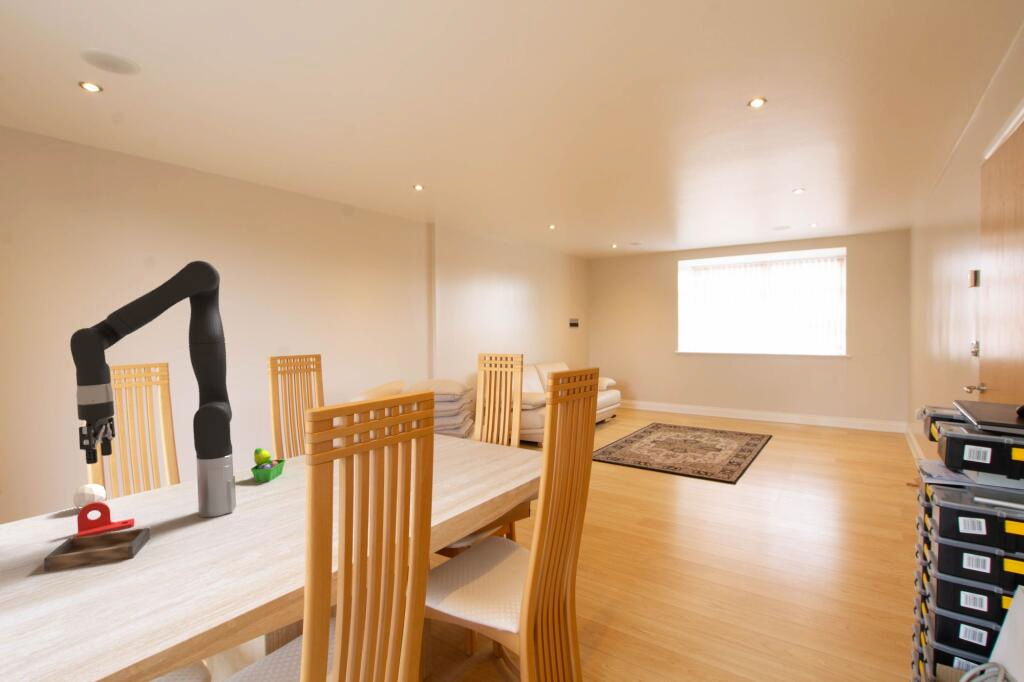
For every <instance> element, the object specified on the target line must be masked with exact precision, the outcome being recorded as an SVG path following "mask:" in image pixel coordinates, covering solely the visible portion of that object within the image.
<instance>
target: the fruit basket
mask: <svg viewBox="0 0 1024 682" xmlns="http://www.w3.org/2000/svg"><path fill="white" fill-rule="evenodd" d="M271 455H272V454H271V453H270V452H269V451H267V450H265V449H263V448H262V447H256V448H255V450H254V452H253V456H254V457H253V461H254V463H255V466H253V467H251V468H250V471H251V473H252V475H253V477H254V481H255V482H262V483H265V482H269V483H270V482H271V481H273V480H275V479H276V478H278V476H280V475H282V474H283V473H282V472H283V470H284V465H285V463H286V459H271V458H272V456H271Z"/></svg>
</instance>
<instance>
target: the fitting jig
mask: <svg viewBox="0 0 1024 682" xmlns="http://www.w3.org/2000/svg"><path fill="white" fill-rule="evenodd" d="M150 539H151V534H150V527H145V528H138V529H137V528H136V529H130V530H129V529H128V530H124V531H123V530H122V531H121V530H120V531H113V532H108V533H103V534H99V535H91V536H84V537H77V536H76V537H69V538H68V539H66V540H65V541H64V542H63V543H62V544H60V545H59V546H58V547H56V548H55V549H54V550H53V551H51V552H50V553H49V554H47V555H46V556H44V557H43V565H44V568H43V569H44V572H49V571H54V570H55V571H56V570H62V569H67V568H68V569H69V568H74V567H81V566H87V565H93V564H101V563H107V562H114V561H120V560H121V561H122V560H129V559H134V557H136V555H137V554H139V552H140V551H141V550H142V548H143V547H144V546H145V545H146V544H147V543H148V542H149V540H150Z"/></svg>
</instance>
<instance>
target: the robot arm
mask: <svg viewBox="0 0 1024 682" xmlns="http://www.w3.org/2000/svg"><path fill="white" fill-rule="evenodd" d="M220 280H221V277H220V273H219V271H218V270H217V268H215V266H214V265H212V264H211V263H209V262H208V261H207V262H206V261H203V260H193V261H190V262H189V263H187V264H186V265H185V266H184V267H183V268H182V269H180V270H178V272H176V274H174V275H173V276H171V277H170V278H169V279H167V280H166V281H165V282H163V283H162V284H161V285H159V286H157V287H155V288H154V289H152V290H151V291H148V292H147V293H145V294H143V295H142V296H139V297H138V298H136V299H134V300H132V301H131V302H128V303H127V304H125V305H123V306H121V307H120V308H118V309H116V310H114V311H112V312H111V313H110V314H108V315H107V317H106V318H105V319H103V320H102V321H100V322H97V323H96V324H94V325H93V326H90V327H84V328H81V329H77V330H76V331H75V332H73V333H72V335H71V337H70V341H69V342H70V343H69V346H70V347H69V348H70V352H71V357H72V360H73V363H74V366H75V371H76V372H75V373H76V374H75V379H76V407H77V419H78V420H79V421H85V425H84V426H79V427H78V433H79V434H78V439H79V443H78V444H79V450H83V451H85V463H86V465H93V464H97V463H98V449H97V448H98V444H99V442H100V451H101V452H100V454H101V456H103V457H104V456H105V457H107V456H110V455H112V453H113V450H112V449H113V448H112V447H113V446H112V442H113V439H114V438H116V431H115V430H116V429H115V419H114V415H115V405H114V404H115V403H114V391H113V387H112V377H111V369H110V366H109V364H108V363H107V362H106V355H105V354H106V353H105V351H106V350H107V349H109V348H111V347H112V346H114V345H116V344H117V343H118V342H119V341H121V340H122V339H124V338H125V337H126V336H128V335H130V334H132V333H135V332H136V331H137V330H140V329H141V328H143V327H144V326H146V325H147V324H150V323H151V322H152V321H154V320H155V319H157V318H158V317H160V316H161V315H162V314H163V313H165V312H166V311H168V310H169V309H171V308H172V307H173V306H175V305H176V304H179V303H180V302H182V301H183V300H185V299H187V298H188V299H189V305H190V317H189V318H190V319H189V325H188V326H189V327H188V350H189V359H190V364H191V367H192V370H193V373H194V376H195V379H196V382H197V385H198V387H197V388H198V409H197V411H196V412H195V413H194V416H193V420H192V421H193V423H192V425H193V426H192V428H193V429H192V431H193V440H194V441H193V446H194V450H195V455H196V479H197V480H196V481H197V500H198V501H197V503H198V516H199V517H202V518H213V517H214V518H215V517H220V516H223V515H227V514H231V513H233V512H234V510H235V508H236V506H237V497H236V476H235V475H234V464H233V463H234V461H233V459H234V458H233V445H232V440H231V439H232V438H231V421H232V419H233V418H232V417H233V411H232V407H231V403H230V399H229V393H228V388H227V351H226V350H227V349H226V348H227V347H226V337H225V332H224V327H223V321H222V316H221V312H220V284H221V281H220Z"/></svg>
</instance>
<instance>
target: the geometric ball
mask: <svg viewBox="0 0 1024 682" xmlns="http://www.w3.org/2000/svg"><path fill="white" fill-rule="evenodd" d="M106 496H107V490H105V487H104V485H100V484H97V483H87V484H85V485H82V486H80V487H78V489H77V490H76V491H75V492H74V493H73V499H72V501H73V504H74V506H75V507H76V508H77V509H79V510H81V509H82V508H83V507H84V506H85V505H87V504H89V503H93V502H102V503H104V501H105V500H106ZM79 507H82V508H79Z"/></svg>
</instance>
